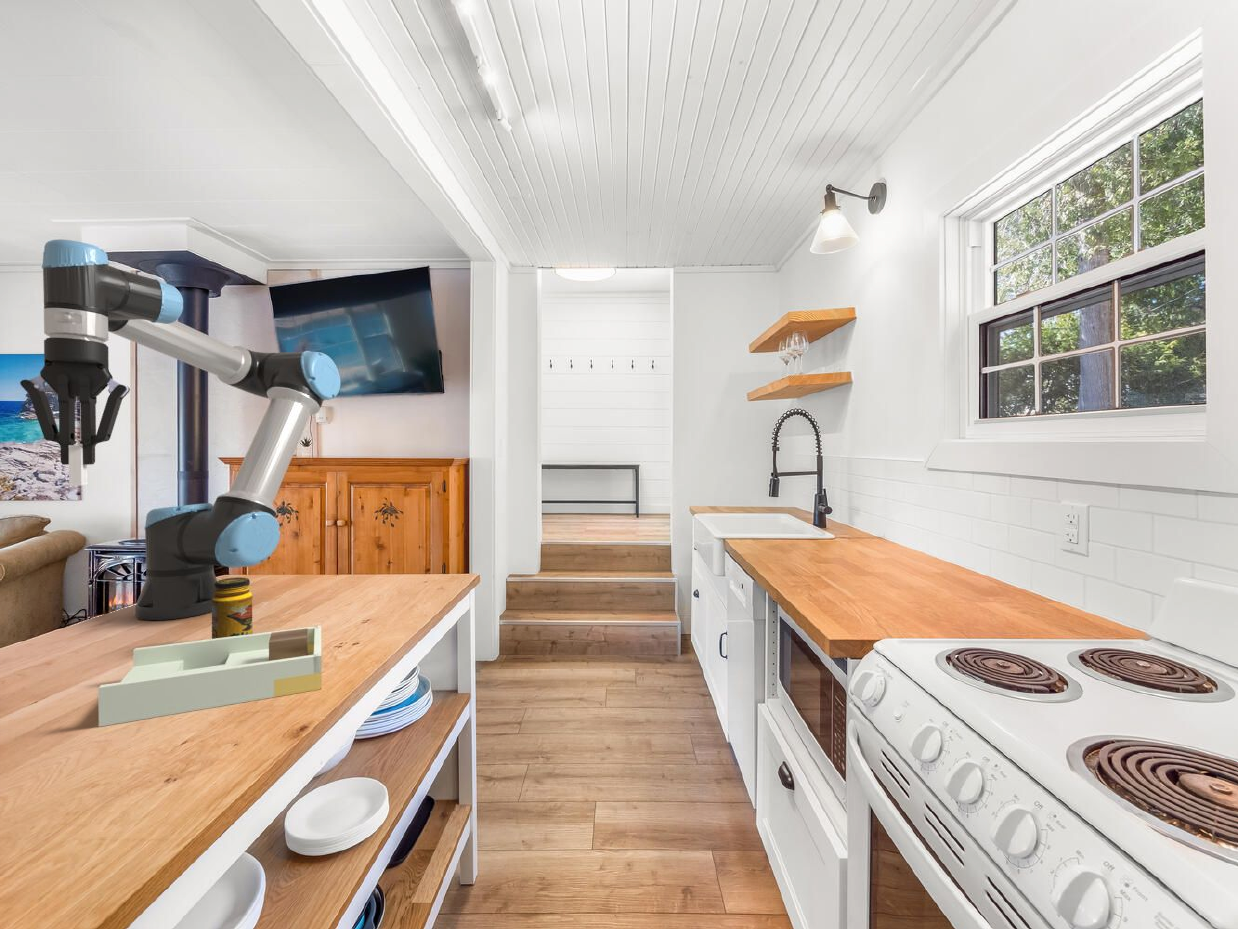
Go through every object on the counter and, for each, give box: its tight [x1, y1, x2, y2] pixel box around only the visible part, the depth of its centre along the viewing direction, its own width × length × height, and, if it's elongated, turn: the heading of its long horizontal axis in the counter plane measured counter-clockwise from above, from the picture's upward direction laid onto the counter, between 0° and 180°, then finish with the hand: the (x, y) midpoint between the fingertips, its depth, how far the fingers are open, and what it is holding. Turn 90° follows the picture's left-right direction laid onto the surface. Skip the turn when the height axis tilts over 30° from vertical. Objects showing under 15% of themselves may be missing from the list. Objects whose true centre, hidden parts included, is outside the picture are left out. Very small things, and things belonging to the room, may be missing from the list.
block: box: [269, 627, 308, 661], centre depth 87 cm, size 5×5×4 cm
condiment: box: [211, 576, 254, 639], centre depth 100 cm, size 7×8×12 cm
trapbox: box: [97, 625, 322, 728], centre depth 84 cm, size 16×25×5 cm, turn 118°
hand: (78, 484), depth 91 cm, fingers closed
